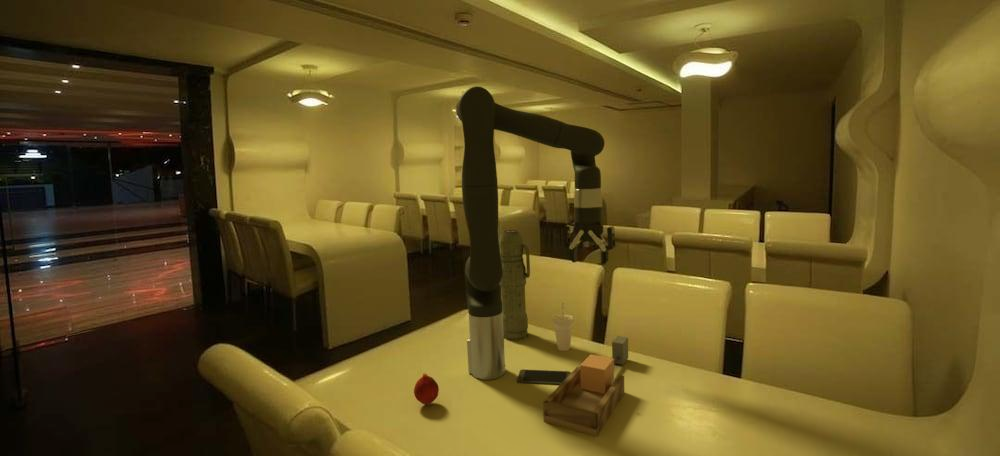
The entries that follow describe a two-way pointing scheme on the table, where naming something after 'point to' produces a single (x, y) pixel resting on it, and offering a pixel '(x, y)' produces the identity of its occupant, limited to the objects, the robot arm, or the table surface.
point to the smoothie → (563, 330)
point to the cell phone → (542, 377)
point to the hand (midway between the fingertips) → (589, 263)
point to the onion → (426, 389)
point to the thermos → (513, 284)
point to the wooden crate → (581, 405)
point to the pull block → (603, 367)
